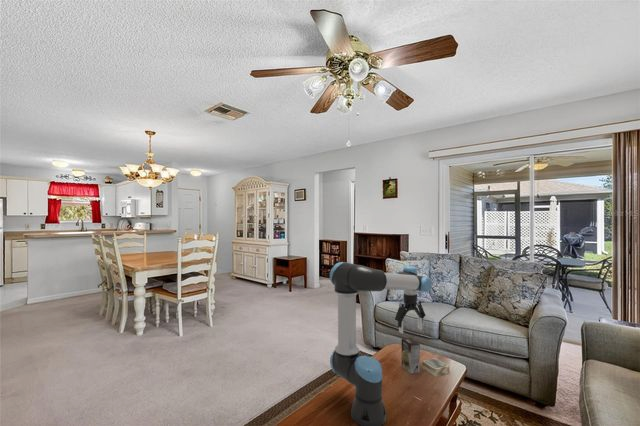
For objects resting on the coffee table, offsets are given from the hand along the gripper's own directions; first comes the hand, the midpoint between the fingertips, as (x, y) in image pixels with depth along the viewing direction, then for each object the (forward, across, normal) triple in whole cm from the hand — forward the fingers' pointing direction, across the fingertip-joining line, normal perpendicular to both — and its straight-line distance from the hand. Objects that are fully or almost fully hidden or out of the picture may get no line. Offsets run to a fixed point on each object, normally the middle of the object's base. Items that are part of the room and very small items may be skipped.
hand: (410, 330), depth 167 cm
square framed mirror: (+22, +12, -7) cm, 26 cm away
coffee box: (+22, 0, 0) cm, 22 cm away
